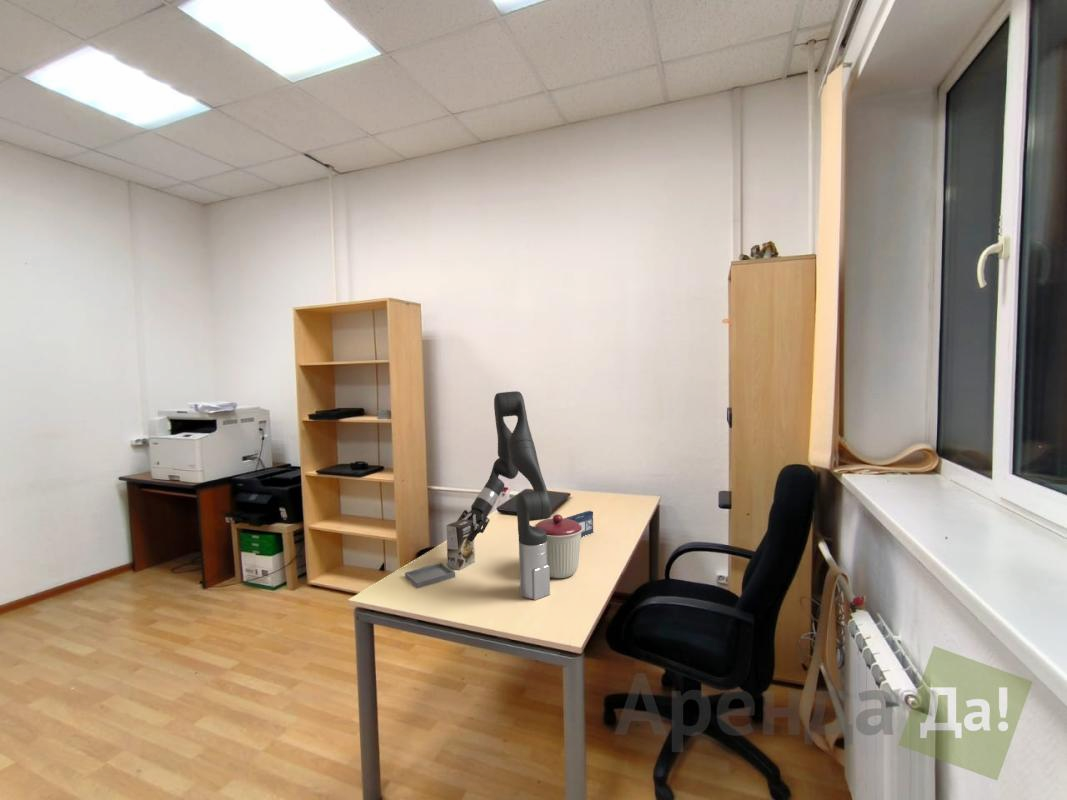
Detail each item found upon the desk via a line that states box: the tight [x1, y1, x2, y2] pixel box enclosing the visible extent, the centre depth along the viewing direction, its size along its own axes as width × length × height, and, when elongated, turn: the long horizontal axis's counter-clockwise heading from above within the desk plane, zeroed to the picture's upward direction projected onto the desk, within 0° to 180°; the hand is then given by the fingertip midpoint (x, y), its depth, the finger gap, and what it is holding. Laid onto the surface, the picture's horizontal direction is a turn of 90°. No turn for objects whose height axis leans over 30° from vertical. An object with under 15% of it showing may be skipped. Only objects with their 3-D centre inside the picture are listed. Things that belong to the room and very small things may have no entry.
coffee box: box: [446, 519, 476, 571], centre depth 176 cm, size 9×6×16 cm
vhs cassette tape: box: [564, 510, 594, 538], centre depth 202 cm, size 18×3×10 cm, turn 129°
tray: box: [404, 561, 456, 589], centre depth 166 cm, size 11×14×2 cm
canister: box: [533, 514, 583, 579], centre depth 167 cm, size 18×18×21 cm
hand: (462, 538), depth 177 cm, fingers open, 8 cm apart
